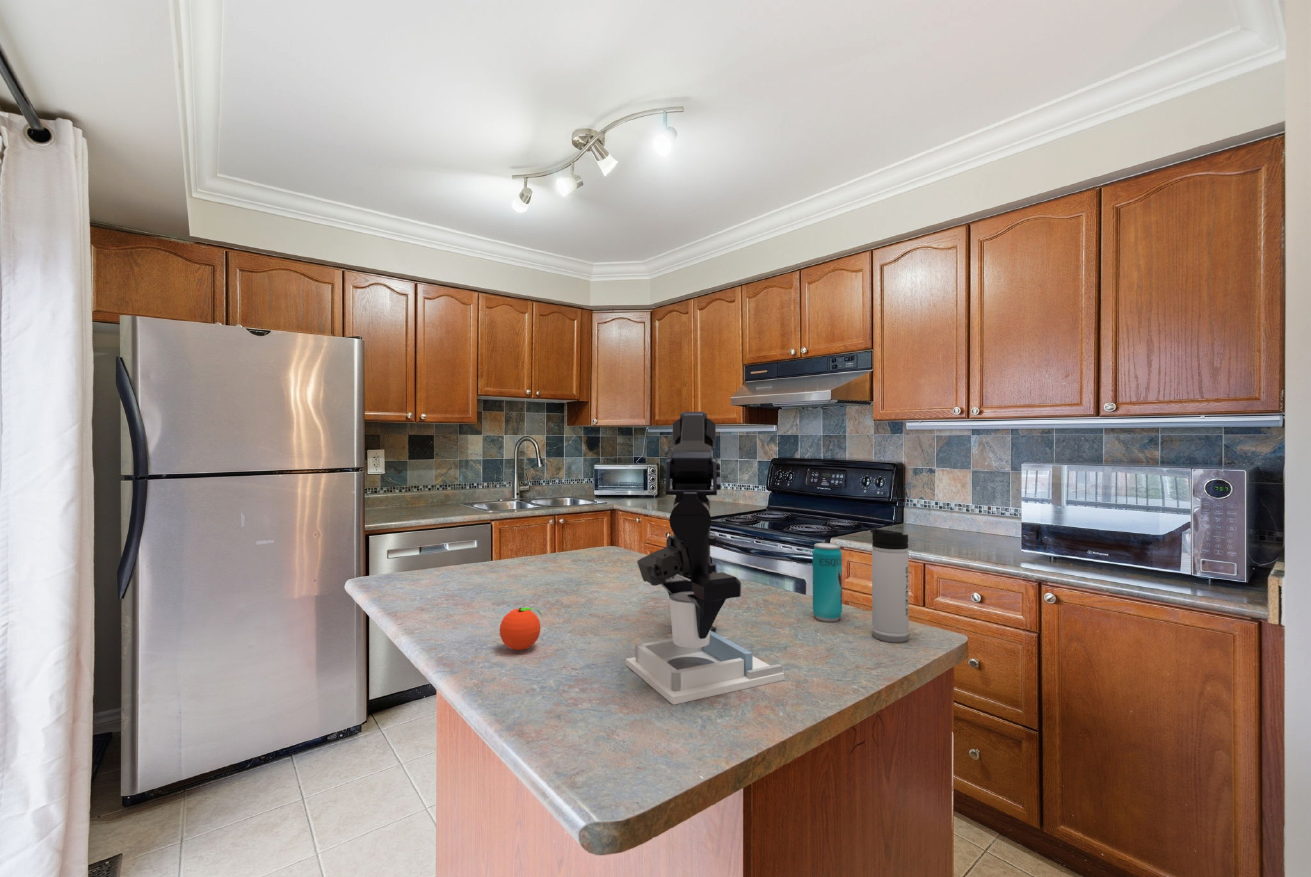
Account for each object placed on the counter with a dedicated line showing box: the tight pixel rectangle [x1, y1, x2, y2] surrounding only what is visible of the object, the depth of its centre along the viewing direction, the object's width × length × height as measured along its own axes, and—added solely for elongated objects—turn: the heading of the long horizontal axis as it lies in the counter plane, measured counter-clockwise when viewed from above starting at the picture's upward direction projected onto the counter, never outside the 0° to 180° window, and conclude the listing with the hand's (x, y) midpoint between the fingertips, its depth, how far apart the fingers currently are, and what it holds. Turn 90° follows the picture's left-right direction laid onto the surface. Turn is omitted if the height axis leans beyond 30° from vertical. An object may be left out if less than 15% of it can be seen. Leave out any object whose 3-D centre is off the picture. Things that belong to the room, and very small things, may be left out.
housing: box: [625, 635, 785, 705], centre depth 90 cm, size 16×19×4 cm
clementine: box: [499, 607, 543, 651], centre depth 101 cm, size 8×7×7 cm
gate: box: [702, 630, 754, 676], centre depth 92 cm, size 13×1×3 cm, turn 27°
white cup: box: [668, 592, 711, 648], centre depth 90 cm, size 7×7×7 cm
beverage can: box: [812, 542, 843, 623], centre depth 119 cm, size 6×6×15 cm
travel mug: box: [870, 527, 910, 644], centre depth 107 cm, size 6×7×20 cm
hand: (691, 631), depth 90 cm, fingers closed on white cup, 6 cm apart
